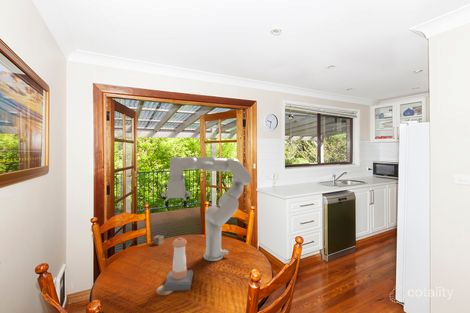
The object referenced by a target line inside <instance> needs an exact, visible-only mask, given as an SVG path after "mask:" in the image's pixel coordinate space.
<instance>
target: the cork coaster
mask: <svg viewBox="0 0 470 313" xmlns="http://www.w3.org/2000/svg"><path fill="white" fill-rule="evenodd" d="M155 292H156V294H157V295H160V296H167V295H170V294H171V293H173V292H174V291H164V284H163V285H160V286H159V287H158V288H157V289H156V291H155Z"/></svg>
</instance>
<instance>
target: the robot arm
mask: <svg viewBox="0 0 470 313" xmlns="http://www.w3.org/2000/svg"><path fill="white" fill-rule="evenodd" d="M184 170H203V171H210V172H229V173H232V177H231V178H232V184H231V186H230V187H229V188H228V190H227V191H226V192H224V193H223V195H222V196H221V197H219V200H218V205H219V207H218V206H216V205H210V206H209V207H208V208H207V209H206V210H205V214H204V216H205V217H204V218H205V231H206V232H205V252H204V254H203V259H204V260H206V261H209V262H218V261H219V260H222V259H223V258H224V255H229V250H227V249H222V226H223V225H224V224H226V223H227V222H228V221H229V220H230V219H231V218H232V217H233V215H234V214H235V213H236V212H237V211H238V209H239V206H240V203H239V200H238V199H239V198H240V197H241V196H242V194H243V193H244V188H245V187H244V186H246V185H249V184H251V182H252V174H251V173H250V172H249V170H248V169H247V168H246V167H245V165H243V164H242V162H241V161H240V160H238V159H237V158H231V157H230V158H228V157H213V156H211V157H207V156H206V157H198V156H197V157H196V156H185V157H181V156H172V157H170V159H169V180H168V181H167V182H168V183H167V186H166V187H167V189H166V190H164V191H163V192H161V193H160V195H161V197H162V199H163V200H164V202H165V207H166V209H169V208H170V200H169V199H183V209H186V207H187V203H188V200H189V199H190V197H191V196H192V192H190V191H188V190H186V182H185V181H186V179H187V178H186V176H185V175H184ZM186 194H187V196H186ZM165 195H166V196H165Z"/></svg>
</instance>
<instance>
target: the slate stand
mask: <svg viewBox="0 0 470 313" xmlns="http://www.w3.org/2000/svg"><path fill="white" fill-rule="evenodd" d="M193 276H194V274H193V270H192V269H191V270H188V269H187V276H186V277H185V278H183V279H178V280H177V279H173V278H172V270H170V271H169V272H168V274H167V277H166V278H165V279H166V280H165V282H164V284H163V285H164V291H173V292H175V291H191V289H192V288H191V286H192V282H193Z"/></svg>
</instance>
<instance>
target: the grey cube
mask: <svg viewBox="0 0 470 313" xmlns="http://www.w3.org/2000/svg"><path fill="white" fill-rule="evenodd" d="M164 237H165V236H164V235H161V234H157V235H155V236H154V237H153V242H152V243H153V245H155V246H160V245H162V244H164V243H165V240H164V239H165V238H164Z"/></svg>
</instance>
